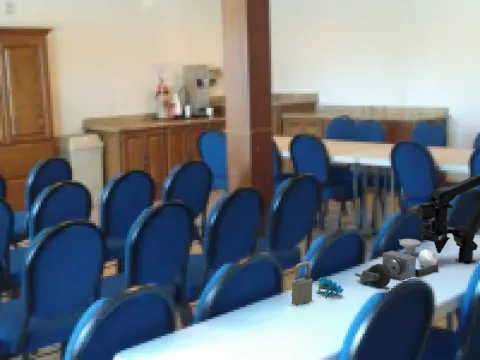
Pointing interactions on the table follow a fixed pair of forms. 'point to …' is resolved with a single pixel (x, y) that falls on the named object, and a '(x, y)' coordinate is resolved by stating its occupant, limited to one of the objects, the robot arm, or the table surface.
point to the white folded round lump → (427, 258)
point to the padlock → (302, 286)
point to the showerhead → (410, 245)
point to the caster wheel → (375, 275)
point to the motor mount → (405, 266)
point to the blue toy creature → (328, 286)
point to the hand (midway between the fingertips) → (438, 253)
